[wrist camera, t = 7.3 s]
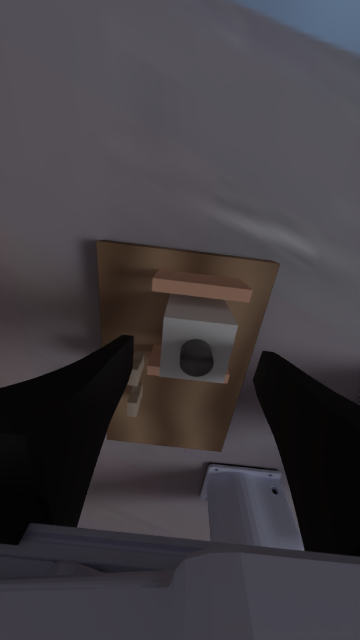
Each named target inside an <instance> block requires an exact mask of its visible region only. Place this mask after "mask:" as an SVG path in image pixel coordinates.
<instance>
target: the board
mask: <svg viewBox="0 0 360 640" xmlns="http://www.w3.org/2000/svg"><path fill="white" fill-rule="evenodd" d="M96 244H97V262H98V280H99V298H100V317H101V335H102V347H103V346H105V345H107V344H108V343H110V342H111V341H113V340H115V339H116V338H118V337H119V336H121V335H123V334H124V335H132V336H134V354H133V368H132V372H131V375H130V378H129V382H128V384H127V386H126V388H125V391H124V393H123V395H122V397H121V399H120V402H119V404H118V406H117V408H116V410H115V412H114V415H113V417H112V419H111V422H110V424H109V427H108V430H107V440H116V441H125V442H135V443H144V444H153V445H162V446H172V447H181V448H190V449H199V450H209V451H218V452H221V451H222V448H223V444H224V441H225V438H226V435H227V432H228V429H229V425H230V422H231V419H232V416H233V413H234V409H235V406H236V403H237V400H238V397H239V393H240V390H241V387H242V384H243V381H244V378H245V374H246V371H247V368H248V365H249V362H250V358H251V355H252V352H253V349H254V346H255V342H256V339H257V336H258V333H259V330H260V327H261V323H262V320H263V317H264V314H265V311H266V307H267V304H268V301H269V298H270V295H271V292H272V288H273V285H274V282H275V279H276V276H277V272H278V269H279V266H280V263H277V262H274V261H270V260H261V259H253V258H245V257H237V256H229V255H221V254H213V253H205V252H197V251H189V250H181V249H173V248H165V247H157V246H149V245H141V244H133V243H124V242H116V241H108V240H100V241H96ZM159 269H162V270H171V271H179V272H187V273H195V274H203V275H212V276H220V277H228V278H236V279H241V280H242V281H243V282H244V283H245V284H247V285H248V286H249V287H250V288H251V289H252V290H253V291H252V295H251V299H250V302H249V303H247V302H239V301H230V300H225V302H226V304H227V306H228V307H229V309H230V311H231V313H232V315H233V317H234V319H235V320H236V322H237V324H238V328H237V332H236V336H235V340H234V344H233V348H232V352H231V356H230V360H229V364H228V371H229V375H230V376H229V379H228V383H227V384H226V383H215V382H206V381H196V380H187V379H177V378H168V377H159V376H156V375H147V367H148V363H149V359H150V356H151V352H152V349H153V346H154V344H157V345H162V333H163V321H164V315H165V311H166V307H167V304H168V300H169V296H170V293H164V292H155V291H152V281H153V277H154V276H155V274H156V273H157V271H158V270H159Z"/></svg>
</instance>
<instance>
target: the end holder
mask: <svg viewBox="0 0 360 640" xmlns="http://www.w3.org/2000/svg"><path fill="white" fill-rule="evenodd" d="M152 291H155V292H164V293H172V294H180V295H189V296H197V297H205V298H214V299H222V300H230V301H239V302H247V303H249V302H250V299H251V295H252V291H253V290H252V289H251V288H250V287H249V286H248V285H247V284H245V283H244V282H243V281H242V280H241V279H236V278H228V277H220V276H212V275H203V274H195V273H187V272H179V271H171V270H162V269H159V270H158V271H157V273H156V274H155V276H154V277H153V281H152ZM161 346H162V345H157V344H154V346H153V349H152V352H151V356H150V359H149V363H148V367H147V375H156V376H159V371H160V359H161ZM229 376H230V375H229V371H228V368H227V372H226V376H225V380H224V383H226V384H227V383H228V379H229Z"/></svg>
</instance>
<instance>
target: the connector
mask: <svg viewBox="0 0 360 640" xmlns="http://www.w3.org/2000/svg"><path fill="white" fill-rule="evenodd" d="M237 328H238V324H237V322H236V320H235V319H234V317H233V315H232V313H231V311H230V309H229V307H228V306H227V304H226V302H225V300H222V299H214V298H205V297H197V296H189V295H180V294H172V293H170V296H169V300H168V304H167V307H166V311H165V315H164V321H163V333H162V346H161V359H160V371H159V377H168V378H177V379H187V380H196V381H206V382H215V383H224V380H225V376H226V372H227V368H228V364H229V360H230V356H231V352H232V348H233V344H234V340H235V336H236V332H237Z"/></svg>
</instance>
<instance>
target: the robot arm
mask: <svg viewBox="0 0 360 640" xmlns="http://www.w3.org/2000/svg"><path fill="white" fill-rule="evenodd" d="M133 354H134V336H132V335H124V334H123V335H121V336H119V337H118V338H116V339H115V340H113V341H111V342H110V343H108V344H107V345H105V346H103V347H102V348H100V349H99V350H97V351H95V352H93V353H91V354H90V355H88V356H86V357H84V358H82V359H80V360H78V361H76V362H74V363H72V364H70V365H68V366H65V367H63V368H61V369H58V370H56V371H53V372H50V373H47V374H45V375H42V376H39V377H36V378H33V379H30V380H27V381H24V382H20V383H17V384H13V385H10V386H6V387H2V388H0V640H360V405H358V404H356V403H354V402H352V401H350V400H348V399H347V398H345V397H343V396H341V395H339V394H338V393H336V392H334V391H333V390H331V389H329V388H328V387H326V386H324V385H323V384H321V383H320V382H318V381H316V380H315V379H313V378H312V377H310V376H309V375H307V374H306V373H304V372H303V371H302V370H300V369H299V368H297V367H296V366H294V365H293V364H291V363H290V362H289V361H287V360H286V359H284V358H283V357H281V356H279V355H278V354H276V353H274V352H269V351H262V354H261V357H260V360H259V363H258V366H257V369H256V372H255V375H254V378H253V382H254V386H255V390H256V394H257V397H258V400H259V402H260V405H261V407H262V409H263V412H264V414H265V417H266V419H267V421H268V424H269V426H270V428H271V431H272V433H273V436H274V438H275V441H276V444H277V447H278V450H279V453H280V456H281V459H282V463H283V466H284V470H285V473H286V477H287V480H288V484H289V487H290V491H291V495H292V499H293V503H294V507H295V511H296V515H297V519H298V524H299V528H300V532H299V530H298V527H297V524H296V522H295V519H294V516H293V514H292V511H291V508H290V505H289V503H288V500H287V497H286V495H285V492H284V489H283V487H282V484H281V481H280V478H281V473H280V472H279V471H274V470H265V469H255V468H246V467H237V466H227V465H218V464H210V465H209V466H208V469H207V472H206V476H205V479H204V483H203V486H202V490H201V493H200V499H201V500H205V501H208V513H209V526H210V539H211V541H203V540H193V539H183V538H174V537H164V536H154V535H144V534H135V533H125V532H115V531H106V530H96V529H86V528H77V525H78V522H79V518H80V515H81V511H82V508H83V505H84V501H85V498H86V494H87V491H88V488H89V485H90V482H91V478H92V475H93V472H94V469H95V466H96V462H97V459H98V456H99V453H100V450H101V447H102V444H103V441H104V438H105V435H106V432H107V430H108V427H109V424H110V422H111V419H112V417H113V415H114V412H115V410H116V408H117V406H118V404H119V402H120V399H121V397H122V395H123V393H124V391H125V388H126V386H127V384H128V382H129V378H130V375H131V372H132V368H133ZM300 533H301V535H300ZM301 537H302V538H301Z"/></svg>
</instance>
